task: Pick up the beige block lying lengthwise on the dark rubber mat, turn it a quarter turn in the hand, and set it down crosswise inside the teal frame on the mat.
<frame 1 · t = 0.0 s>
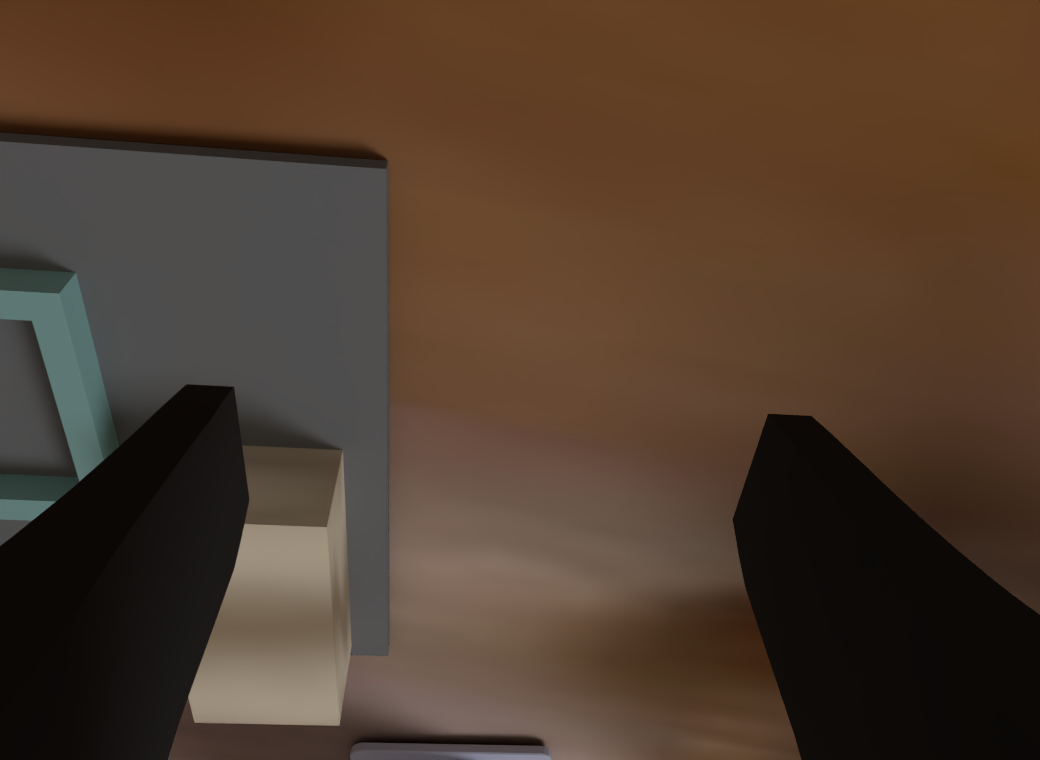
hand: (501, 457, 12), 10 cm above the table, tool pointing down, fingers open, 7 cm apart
rubber mat: (34, 437, 24), on the table
beige block: (275, 555, 27), resting on rubber mat
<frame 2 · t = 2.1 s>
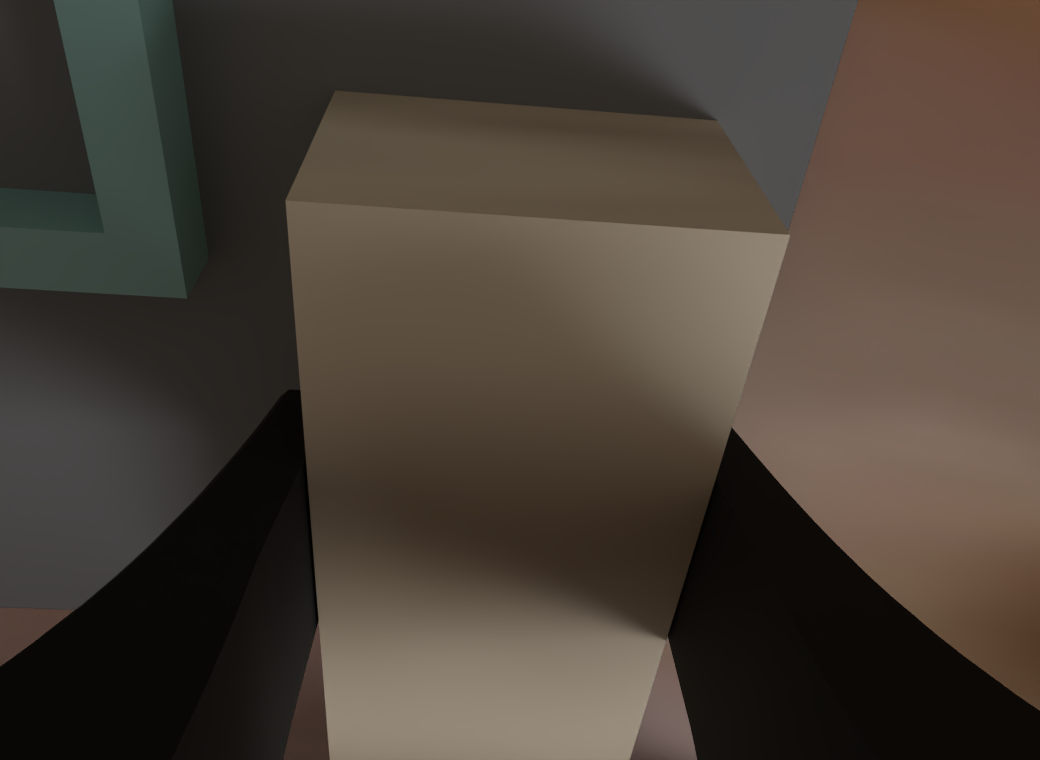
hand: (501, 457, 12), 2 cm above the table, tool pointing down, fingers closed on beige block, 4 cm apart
beige block: (500, 407, 13), resting on rubber mat, touching gripper
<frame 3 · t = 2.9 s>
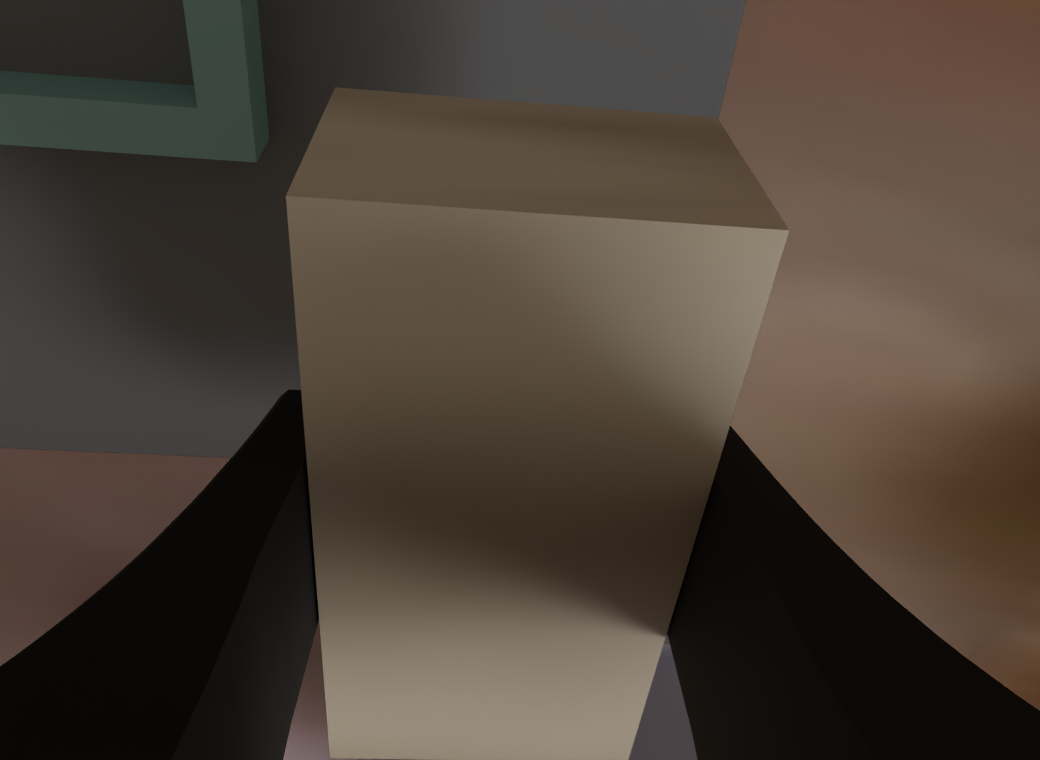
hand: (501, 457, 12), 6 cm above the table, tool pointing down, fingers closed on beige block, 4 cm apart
rubber mat: (100, 3, 13), on the table
beige block: (500, 404, 13), point 4 cm above the table, touching gripper
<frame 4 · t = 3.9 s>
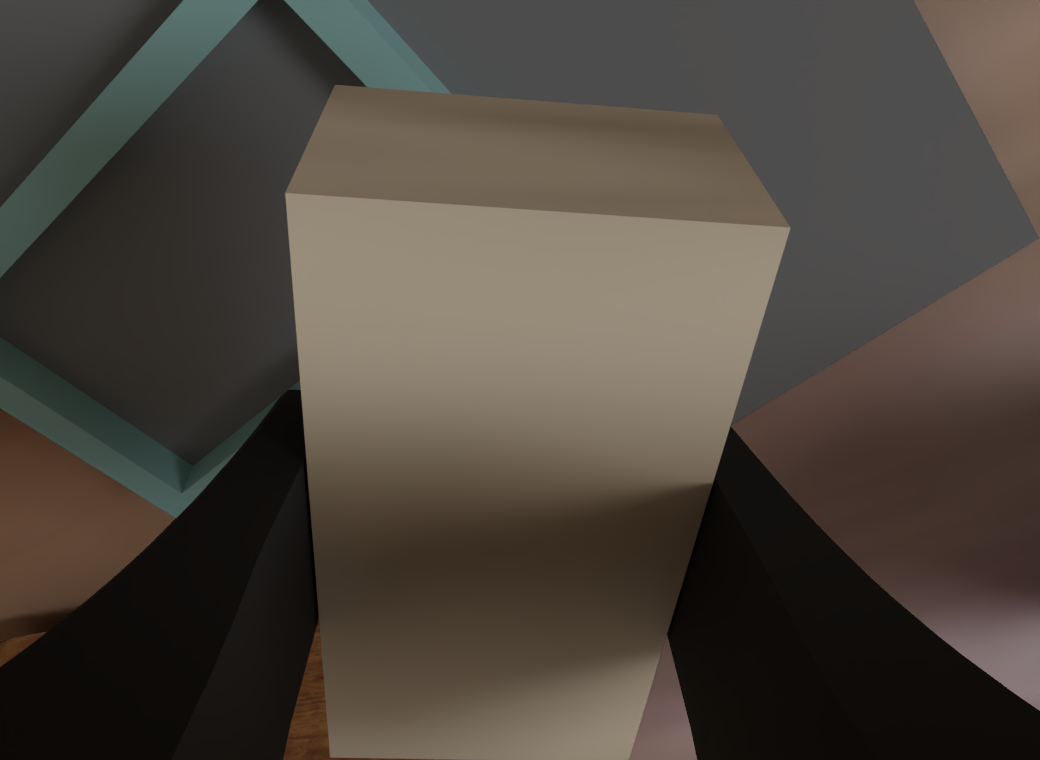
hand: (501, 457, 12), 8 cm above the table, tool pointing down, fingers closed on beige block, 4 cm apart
rubber mat: (415, 220, 18), on the table
beige block: (500, 403, 13), point 7 cm above the table, touching gripper
teal frame: (229, 265, 18), resting on rubber mat
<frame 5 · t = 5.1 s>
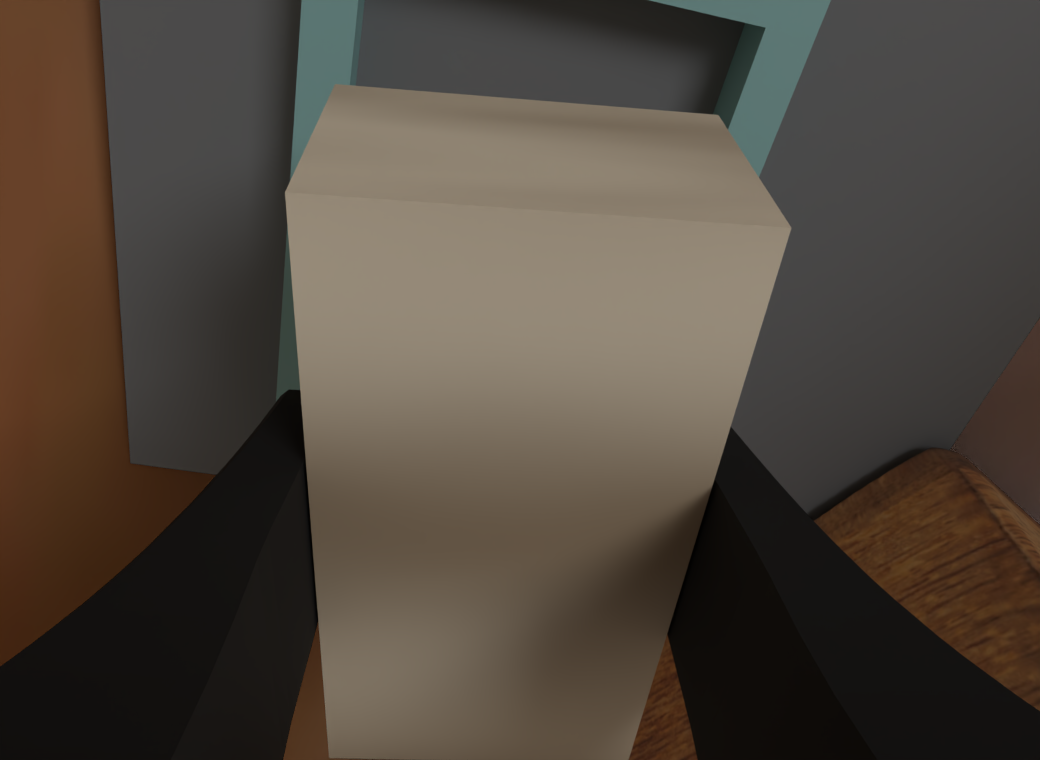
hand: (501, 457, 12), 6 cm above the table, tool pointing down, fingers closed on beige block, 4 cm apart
rubber mat: (651, 96, 15), on the table
beige block: (500, 403, 13), point 5 cm above the table, touching gripper
wooden box: (997, 757, 28), on the table, touching rubber mat
teal frame: (499, 263, 16), resting on rubber mat
when the fingers open (3 cm above the table, at t = 6.1 s): beige block stays where it is, resting on rubber mat.
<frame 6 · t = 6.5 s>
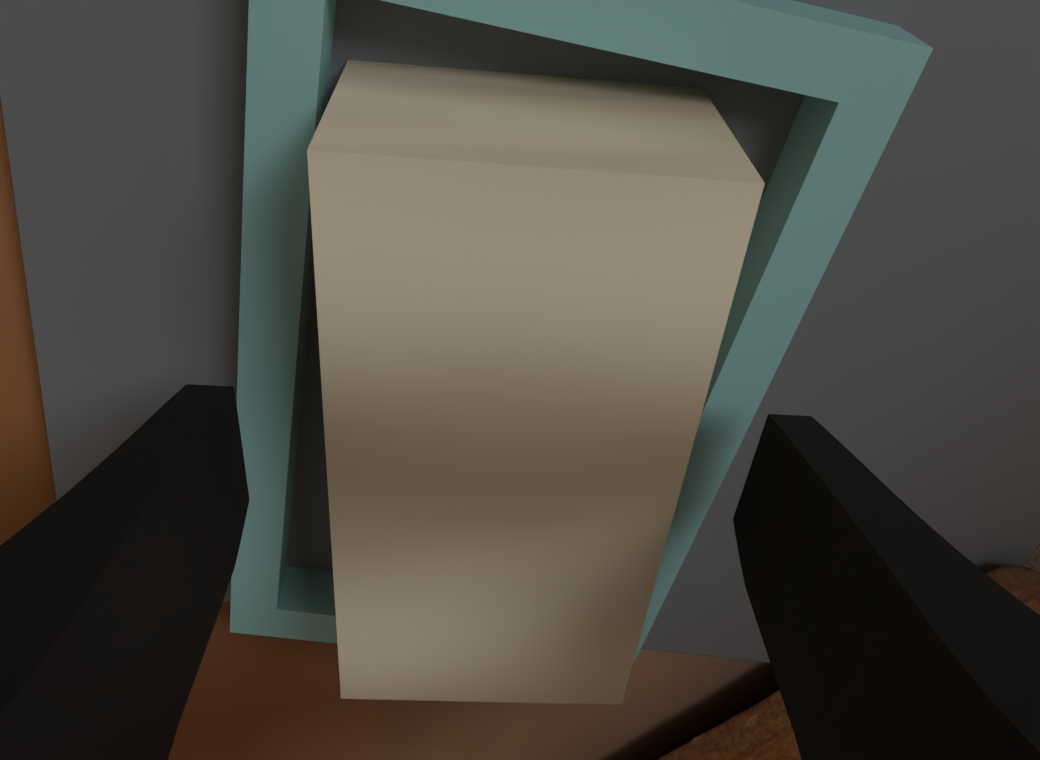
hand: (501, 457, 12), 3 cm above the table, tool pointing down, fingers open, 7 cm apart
rubber mat: (686, 173, 12), on the table
beige block: (501, 364, 13), resting on rubber mat
teal frame: (499, 368, 13), resting on rubber mat
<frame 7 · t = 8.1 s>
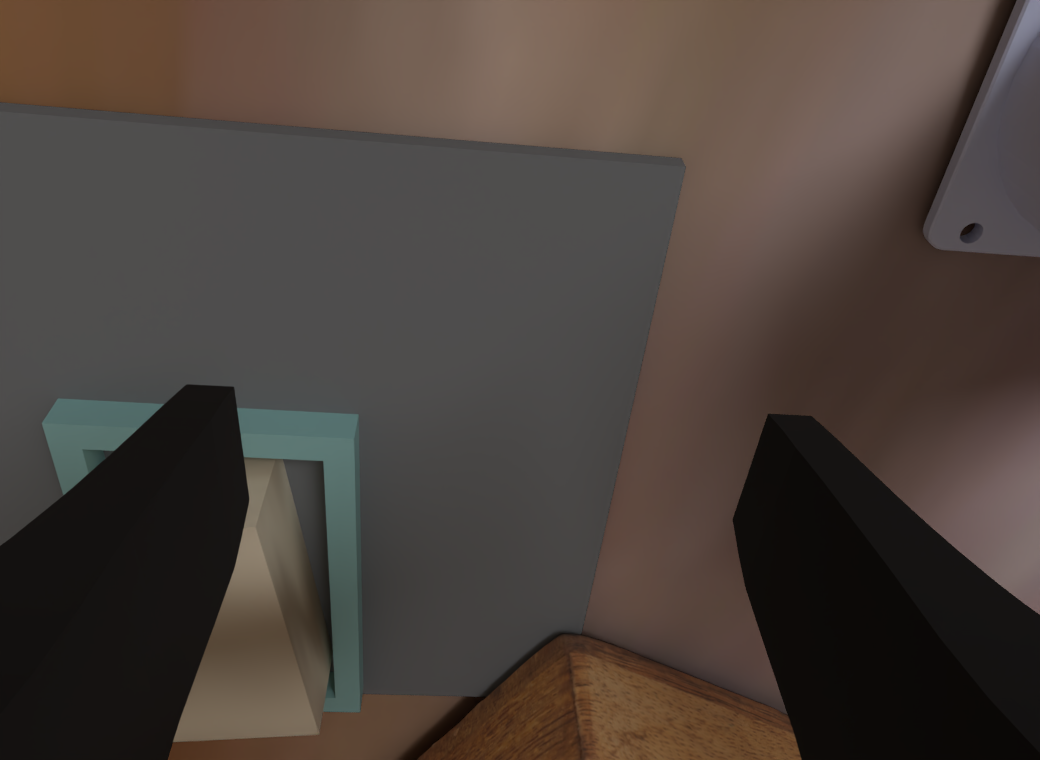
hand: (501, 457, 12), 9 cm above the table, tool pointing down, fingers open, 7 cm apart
rubber mat: (297, 470, 24), on the table
beige block: (234, 562, 25), resting on rubber mat
teal frame: (233, 564, 26), resting on rubber mat
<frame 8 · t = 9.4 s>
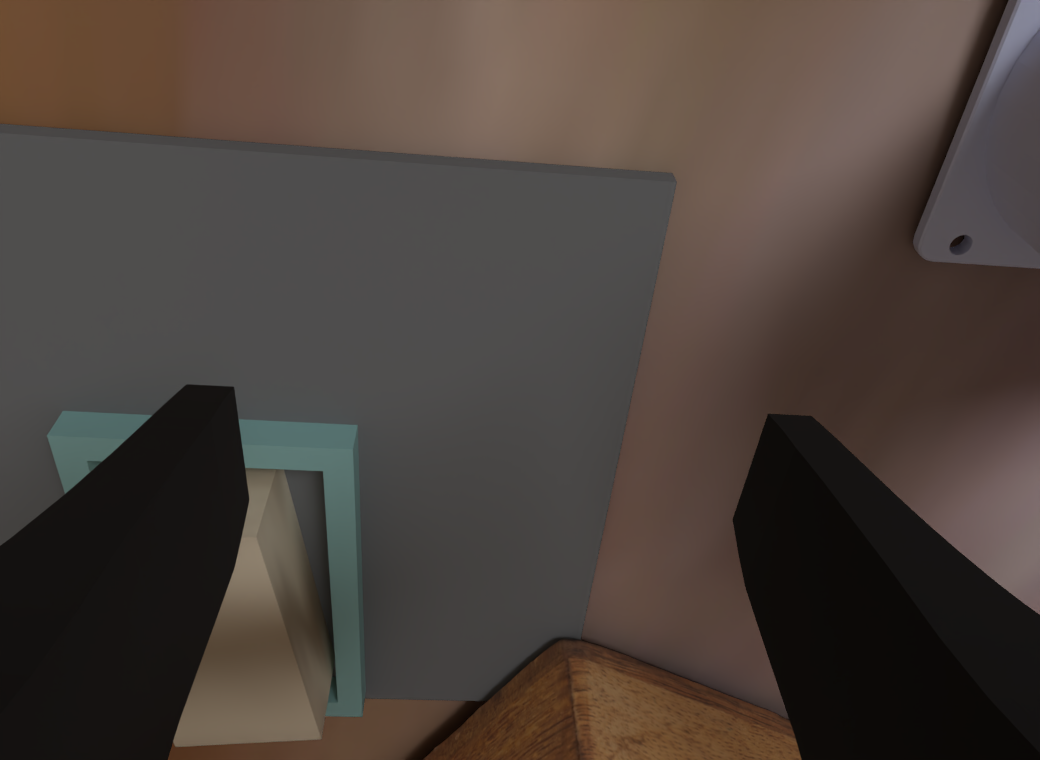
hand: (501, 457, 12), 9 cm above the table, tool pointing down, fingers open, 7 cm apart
rubber mat: (298, 479, 24), on the table
beige block: (236, 570, 26), resting on rubber mat
teal frame: (236, 571, 26), resting on rubber mat
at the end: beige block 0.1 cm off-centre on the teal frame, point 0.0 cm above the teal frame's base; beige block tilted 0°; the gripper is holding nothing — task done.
